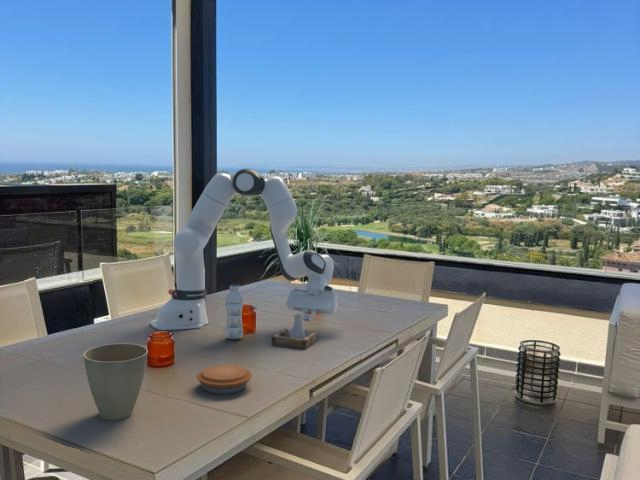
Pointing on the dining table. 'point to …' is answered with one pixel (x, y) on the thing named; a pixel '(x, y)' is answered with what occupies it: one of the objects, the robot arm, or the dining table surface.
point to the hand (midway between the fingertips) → (306, 320)
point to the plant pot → (115, 377)
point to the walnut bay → (293, 340)
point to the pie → (224, 379)
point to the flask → (297, 328)
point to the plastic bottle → (234, 313)
